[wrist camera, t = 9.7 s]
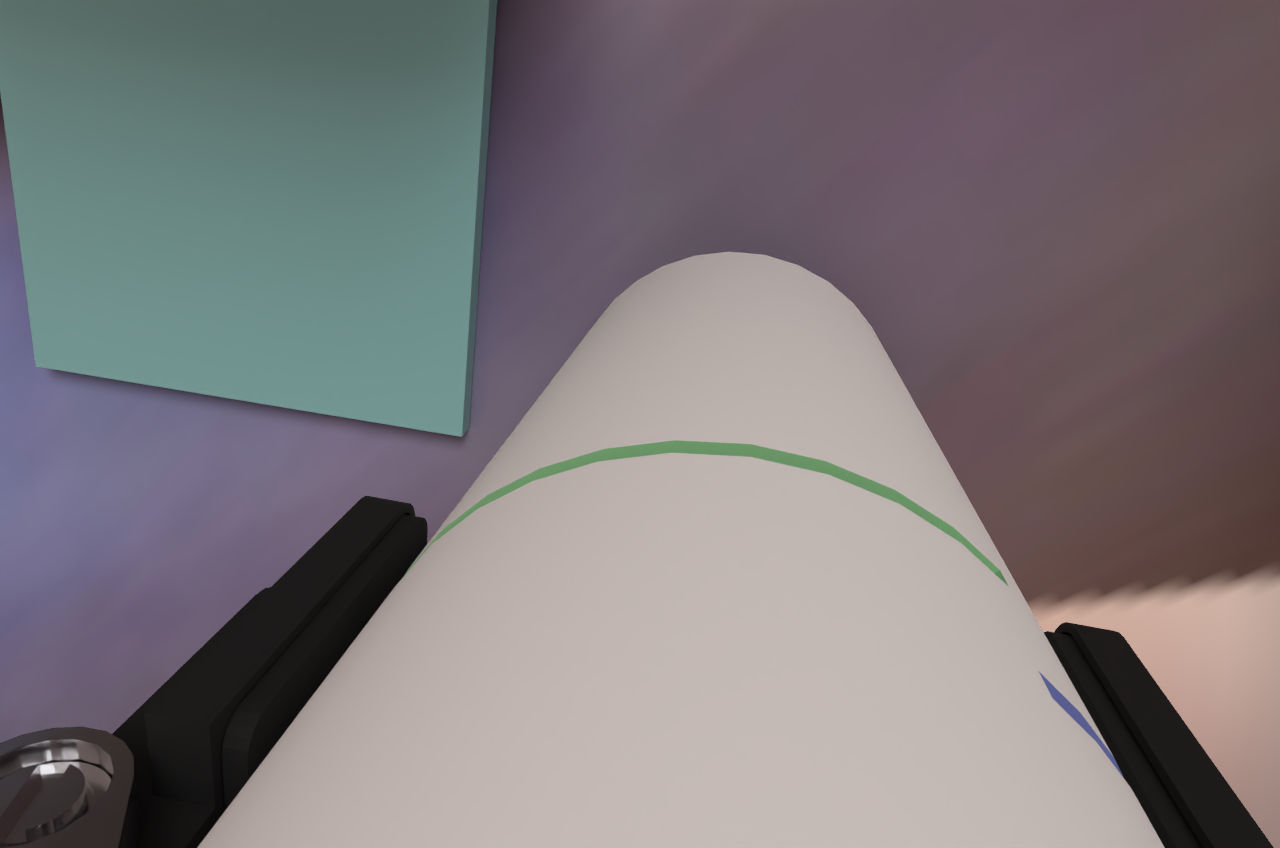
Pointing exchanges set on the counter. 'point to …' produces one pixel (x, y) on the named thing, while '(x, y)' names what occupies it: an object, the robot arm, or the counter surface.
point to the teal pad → (255, 196)
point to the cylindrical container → (702, 620)
